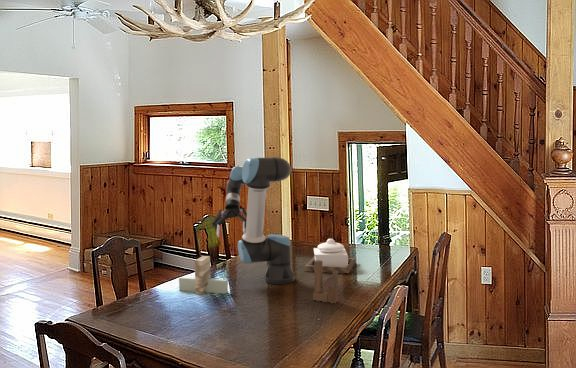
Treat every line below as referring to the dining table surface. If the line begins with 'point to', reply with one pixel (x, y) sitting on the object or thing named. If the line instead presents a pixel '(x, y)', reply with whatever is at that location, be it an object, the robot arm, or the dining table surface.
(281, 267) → the robot arm
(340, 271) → the dish tray rim
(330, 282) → the wooden block
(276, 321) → the dining table surface
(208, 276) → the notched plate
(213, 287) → the notched rail
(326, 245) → the butter dish
